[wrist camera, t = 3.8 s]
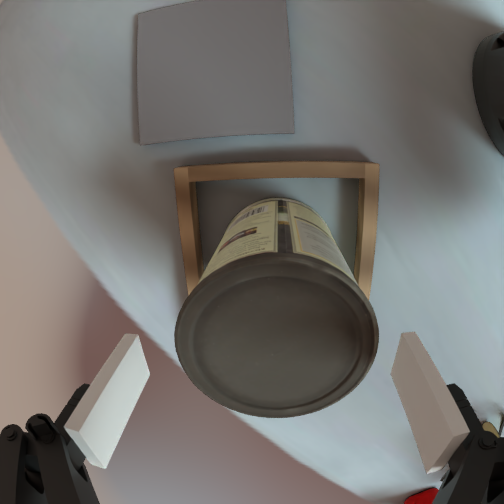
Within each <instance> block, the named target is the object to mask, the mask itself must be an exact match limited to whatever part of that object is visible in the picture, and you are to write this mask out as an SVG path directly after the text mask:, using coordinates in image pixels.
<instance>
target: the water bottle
mask: <svg viewBox="0 0 504 504" xmlns="http://www.w3.org/2000/svg"><path fill="white" fill-rule="evenodd" d="M438 491H439V490H438V489H436V488H431V489H428V490H426V491H423V492H421V493H418V494H415V495H413V496H410V497H409V498H408V499H406V501H405V502H404V504H432V502H433V500H434V499H435V497H436V495H437V493H438Z"/></svg>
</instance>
